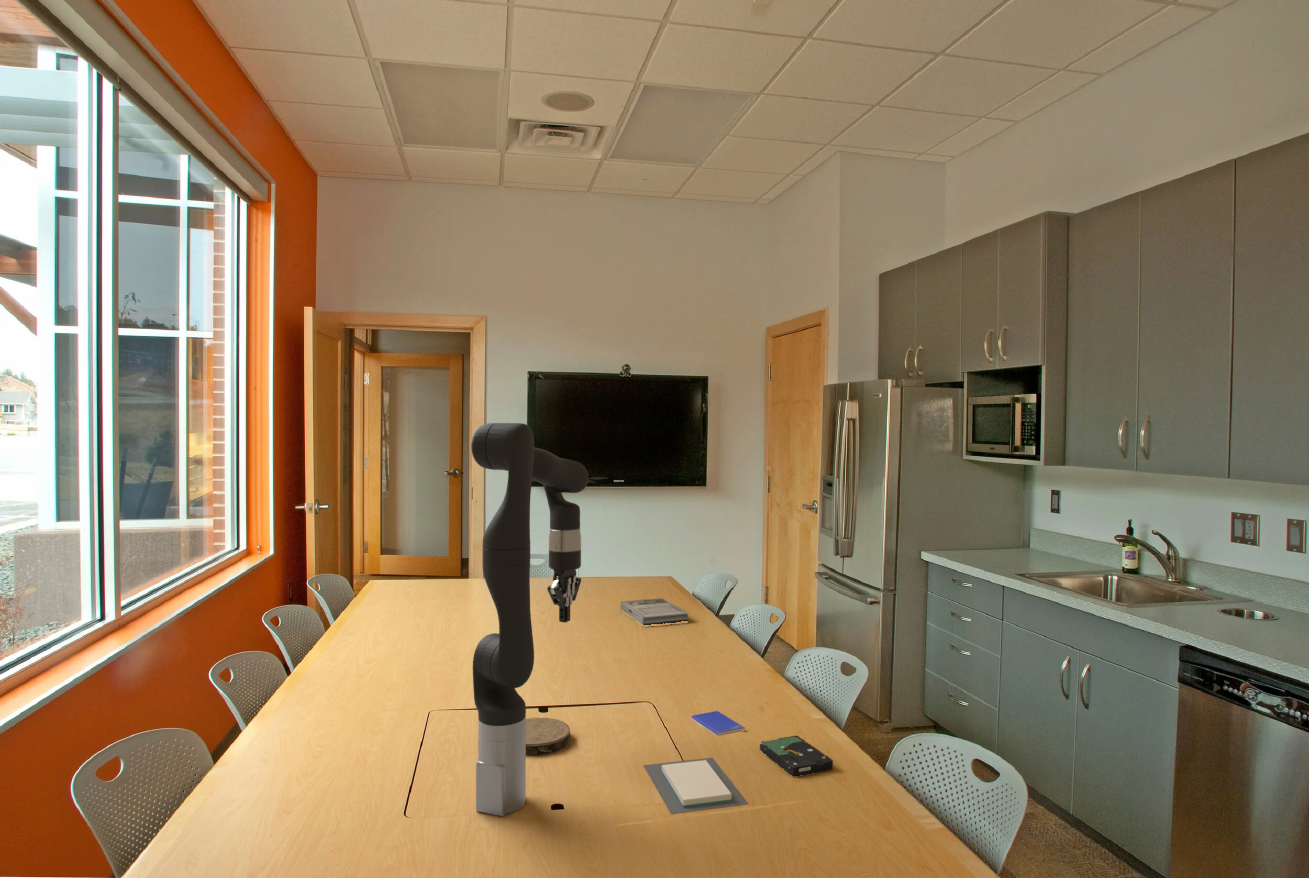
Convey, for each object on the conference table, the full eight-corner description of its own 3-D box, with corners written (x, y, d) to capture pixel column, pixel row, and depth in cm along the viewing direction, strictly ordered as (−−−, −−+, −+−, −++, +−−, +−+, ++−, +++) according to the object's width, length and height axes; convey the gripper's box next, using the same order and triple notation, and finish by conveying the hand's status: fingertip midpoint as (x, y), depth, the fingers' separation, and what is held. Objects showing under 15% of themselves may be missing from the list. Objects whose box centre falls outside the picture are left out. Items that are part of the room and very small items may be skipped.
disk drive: (834, 772, 169) (796, 745, 183) (834, 760, 169) (796, 734, 183) (793, 780, 165) (758, 752, 179) (793, 767, 165) (758, 740, 179)
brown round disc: (571, 755, 177) (571, 741, 177) (500, 759, 174) (500, 746, 174) (568, 728, 192) (568, 716, 192) (503, 731, 190) (503, 719, 190)
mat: (643, 767, 170) (643, 765, 170) (712, 759, 174) (712, 757, 174) (670, 816, 149) (671, 814, 149) (748, 806, 153) (748, 804, 153)
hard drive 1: (643, 629, 287) (643, 617, 287) (619, 612, 312) (619, 601, 312) (688, 624, 294) (688, 612, 294) (661, 608, 319) (661, 598, 319)
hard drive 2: (744, 726, 190) (718, 710, 201) (716, 732, 187) (691, 715, 198) (744, 733, 190) (718, 716, 201) (716, 739, 187) (691, 721, 198)
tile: (661, 765, 167) (683, 800, 151) (705, 760, 169) (731, 794, 154) (661, 772, 167) (683, 807, 151) (705, 767, 169) (731, 801, 154)
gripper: (566, 553, 173) (565, 630, 174) (591, 544, 186) (591, 616, 186) (536, 551, 176) (536, 626, 176) (563, 542, 188) (563, 613, 189)
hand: (564, 621), depth 181 cm, fingers closed
